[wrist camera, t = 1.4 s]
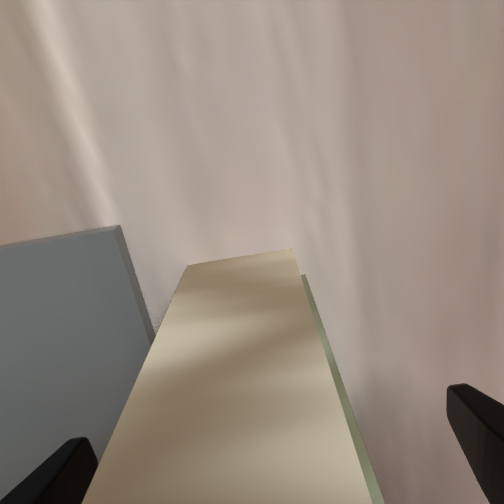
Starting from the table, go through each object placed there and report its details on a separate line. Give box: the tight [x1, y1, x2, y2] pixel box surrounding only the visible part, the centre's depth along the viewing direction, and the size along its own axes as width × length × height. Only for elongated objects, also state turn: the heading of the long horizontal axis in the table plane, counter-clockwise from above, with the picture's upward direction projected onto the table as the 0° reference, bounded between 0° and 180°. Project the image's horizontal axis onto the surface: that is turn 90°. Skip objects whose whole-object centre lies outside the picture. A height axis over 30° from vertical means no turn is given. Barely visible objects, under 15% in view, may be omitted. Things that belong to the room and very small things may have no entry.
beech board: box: [82, 248, 385, 504], centre depth 8 cm, size 3×7×8 cm, turn 10°
